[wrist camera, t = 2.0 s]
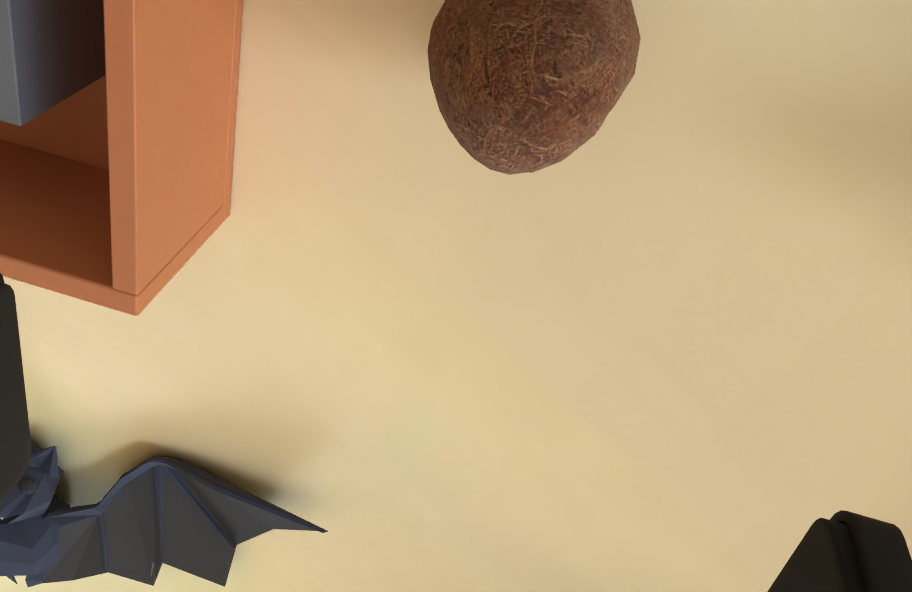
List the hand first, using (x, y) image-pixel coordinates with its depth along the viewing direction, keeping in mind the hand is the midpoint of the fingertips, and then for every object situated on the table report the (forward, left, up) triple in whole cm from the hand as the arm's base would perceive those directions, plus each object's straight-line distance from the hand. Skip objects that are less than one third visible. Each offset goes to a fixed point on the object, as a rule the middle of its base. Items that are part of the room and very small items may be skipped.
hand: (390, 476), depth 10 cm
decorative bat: (+28, -18, -18) cm, 38 cm away
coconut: (0, 0, -18) cm, 18 cm away
